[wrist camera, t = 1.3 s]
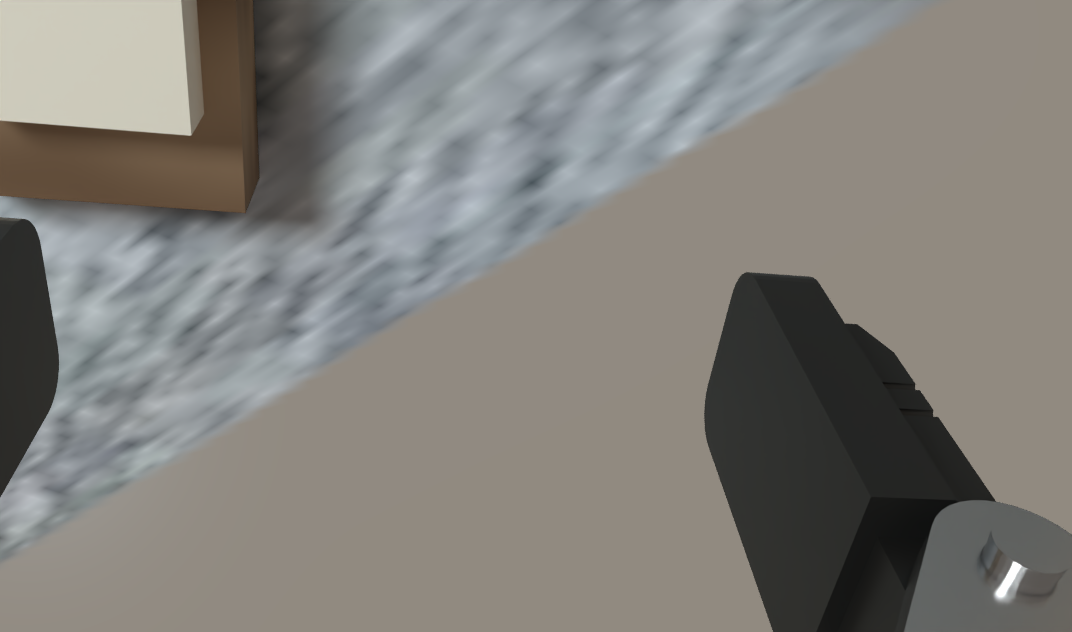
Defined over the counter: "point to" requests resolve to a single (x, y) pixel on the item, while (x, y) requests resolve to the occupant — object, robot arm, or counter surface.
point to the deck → (156, 139)
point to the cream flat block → (102, 64)
